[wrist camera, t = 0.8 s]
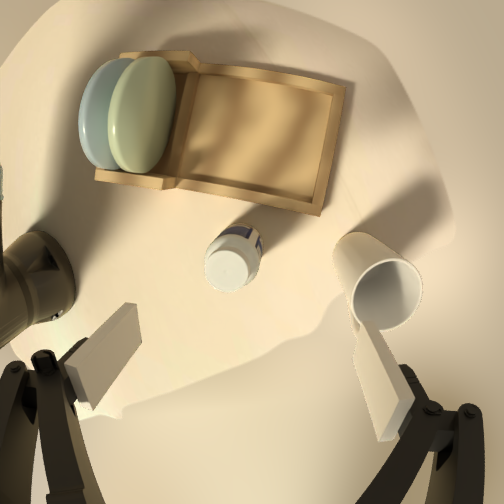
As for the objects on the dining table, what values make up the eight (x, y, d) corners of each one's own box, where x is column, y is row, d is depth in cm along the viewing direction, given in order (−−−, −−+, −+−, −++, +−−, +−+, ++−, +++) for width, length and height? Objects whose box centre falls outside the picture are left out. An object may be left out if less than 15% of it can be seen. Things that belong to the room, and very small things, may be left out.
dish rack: (120, 177, 34) (94, 180, 28) (142, 67, 30) (120, 53, 24) (317, 214, 33) (325, 223, 27) (342, 91, 29) (354, 76, 23)
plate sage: (155, 171, 32) (98, 174, 21) (174, 75, 29) (127, 39, 18) (164, 172, 32) (109, 175, 21) (184, 76, 29) (139, 38, 18)
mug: (336, 224, 33) (362, 251, 22) (387, 234, 33) (432, 264, 21) (318, 302, 36) (331, 358, 24) (367, 309, 35) (396, 363, 24)
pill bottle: (209, 245, 35) (184, 271, 26) (239, 213, 34) (223, 229, 25) (242, 275, 36) (228, 311, 27) (273, 244, 34) (269, 272, 25)
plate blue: (131, 167, 33) (69, 170, 21) (150, 75, 29) (97, 43, 18) (139, 168, 33) (79, 171, 21) (158, 75, 29) (107, 41, 18)
